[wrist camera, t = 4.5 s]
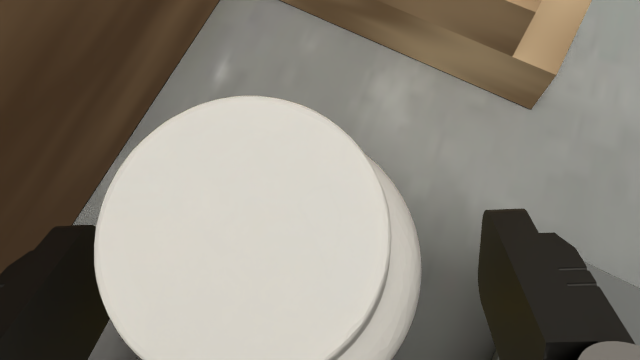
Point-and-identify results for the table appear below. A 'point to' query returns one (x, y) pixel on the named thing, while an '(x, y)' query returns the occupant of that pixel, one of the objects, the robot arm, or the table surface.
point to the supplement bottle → (256, 240)
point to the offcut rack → (167, 50)
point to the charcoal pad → (617, 301)
